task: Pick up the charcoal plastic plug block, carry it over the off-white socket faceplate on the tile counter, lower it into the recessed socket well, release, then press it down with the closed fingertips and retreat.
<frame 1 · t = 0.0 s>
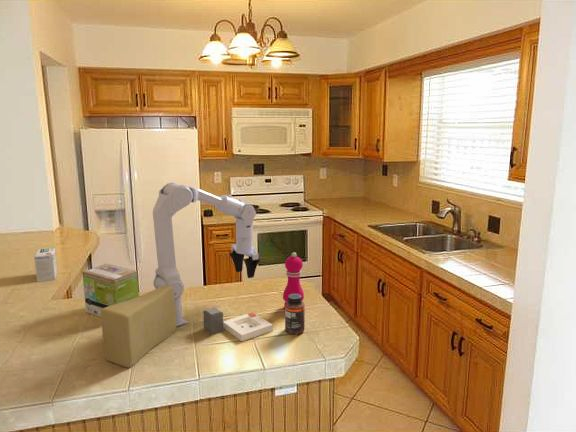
hand: (244, 274, 149), 10 cm above the counter, fingers open, 7 cm apart
light bulb box: (47, 277, 174), on the counter
supplement bottle: (294, 331, 130), on the counter
tan rectangular block: (147, 346, 120), on the counter, touching arm
tea box: (113, 312, 142), on the counter
socket plate: (247, 329, 130), on the counter
pepper mill: (293, 308, 146), on the counter
plug: (213, 329, 130), on the counter
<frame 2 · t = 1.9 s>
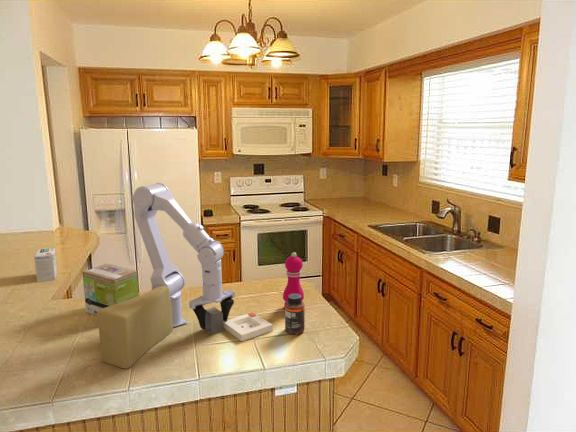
hand: (213, 324, 130), 2 cm above the counter, fingers open, 7 cm apart
tan rectangular block: (144, 347, 120), on the counter
everything else where it was.
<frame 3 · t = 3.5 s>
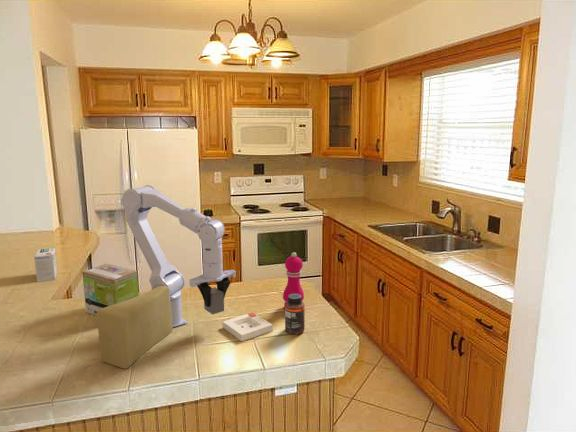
hand: (214, 303, 128), 8 cm above the counter, fingers closed on plug, 4 cm apart
plug: (214, 310, 129), point 6 cm above the counter, touching gripper
everything else where it was.
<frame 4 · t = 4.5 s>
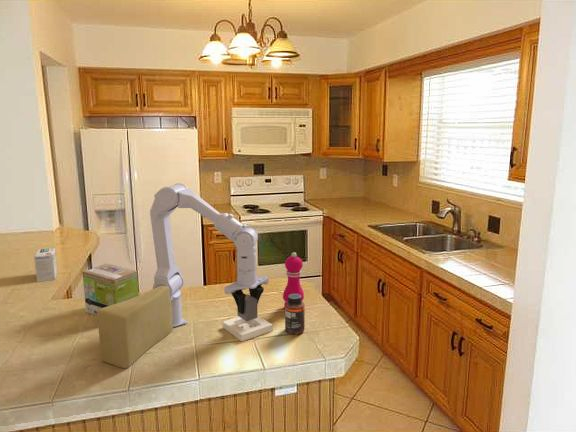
hand: (247, 310, 129), 6 cm above the counter, fingers closed on plug, 4 cm apart
plug: (247, 316, 130), point 4 cm above the counter, touching gripper
everything else where it was.
when the fingers open (3 cm above the counter, at t = 5.3 s): plug stays where it is, resting on socket plate.
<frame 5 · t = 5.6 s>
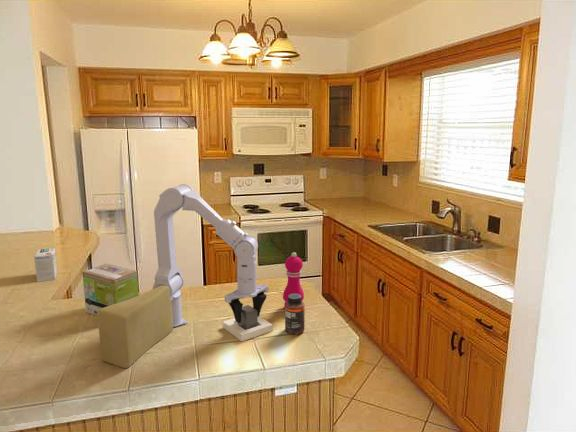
hand: (247, 318, 130), 3 cm above the counter, fingers open, 6 cm apart
plug: (247, 327, 130), point 1 cm above the counter, touching socket plate
everything else where it was.
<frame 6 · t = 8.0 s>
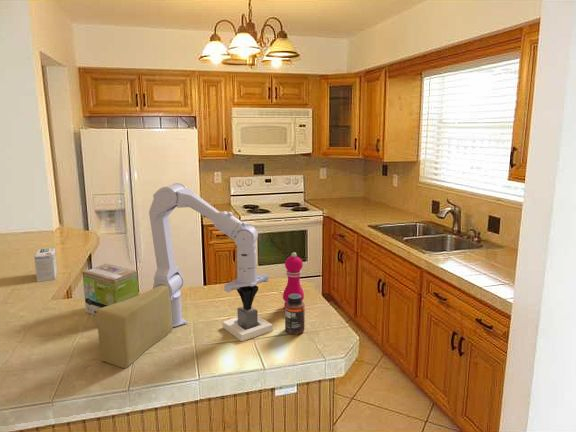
hand: (247, 308, 129), 7 cm above the counter, fingers closed, pressing on plug
plug: (247, 327, 130), point 1 cm above the counter, touching gripper, socket plate
everything else where it was.
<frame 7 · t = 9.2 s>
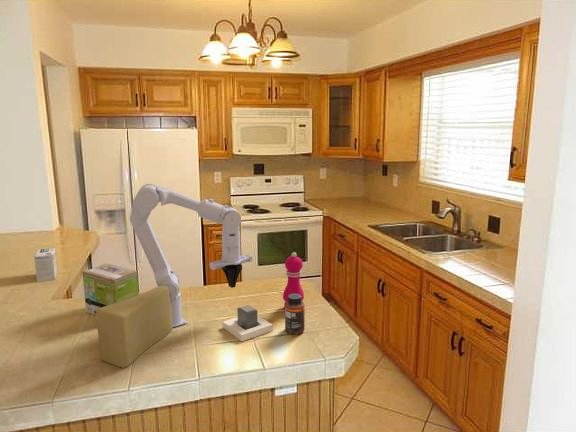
hand: (232, 286, 137), 10 cm above the counter, fingers closed
plug: (247, 327, 130), point 1 cm above the counter, touching socket plate
everything else where it was.
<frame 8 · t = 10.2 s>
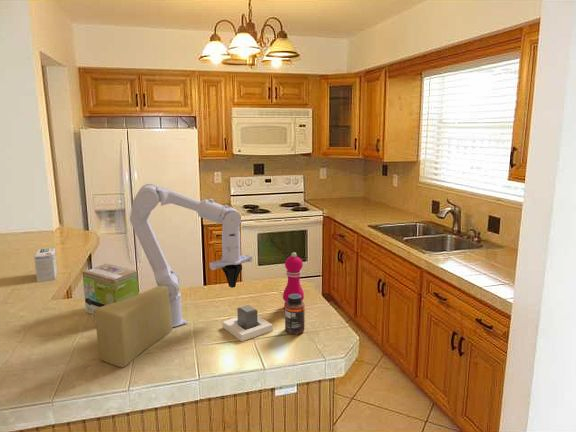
hand: (232, 286, 137), 10 cm above the counter, fingers closed
tan rectangular block: (142, 346, 120), on the counter, touching arm
everything else where it was.
at the end: plug 0.0 cm off-centre on the socket plate, point 0.5 cm above the socket plate's base; plug tilted 0°; the gripper is holding nothing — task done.
